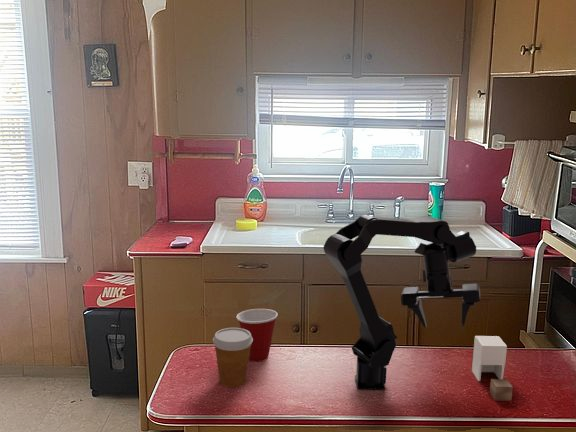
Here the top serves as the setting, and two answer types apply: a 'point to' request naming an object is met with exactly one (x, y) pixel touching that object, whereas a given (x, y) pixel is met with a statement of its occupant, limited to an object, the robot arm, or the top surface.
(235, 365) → the disposable coffee cup
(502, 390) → the walnut block
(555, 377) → the top surface
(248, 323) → the plastic cup
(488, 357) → the white notched block
